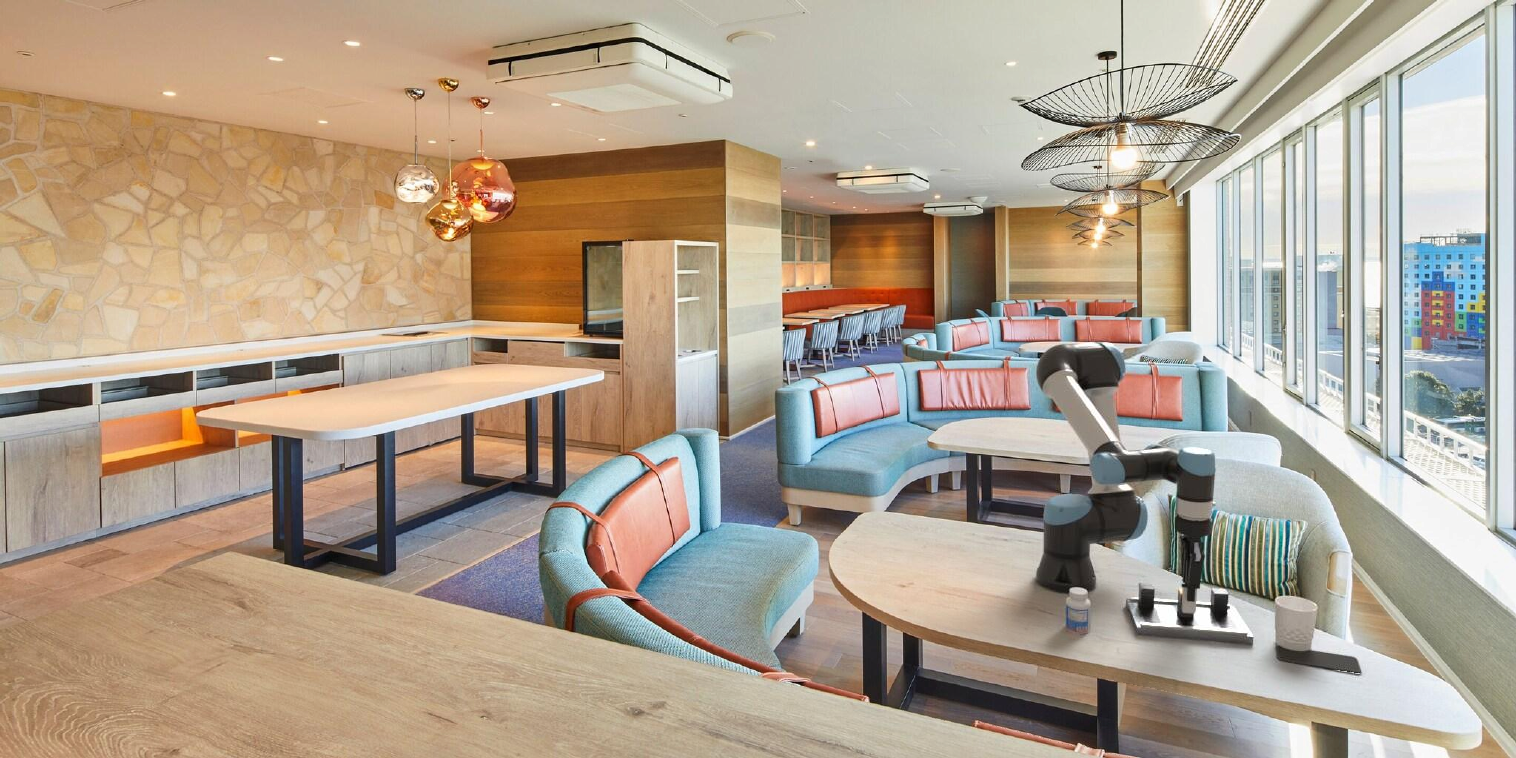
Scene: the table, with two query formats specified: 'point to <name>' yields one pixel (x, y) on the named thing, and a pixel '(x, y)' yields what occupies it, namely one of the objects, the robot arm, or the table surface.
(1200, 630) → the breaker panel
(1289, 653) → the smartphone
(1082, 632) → the pill bottle
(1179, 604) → the breaker
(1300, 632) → the white cup
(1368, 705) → the table surface
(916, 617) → the table surface
